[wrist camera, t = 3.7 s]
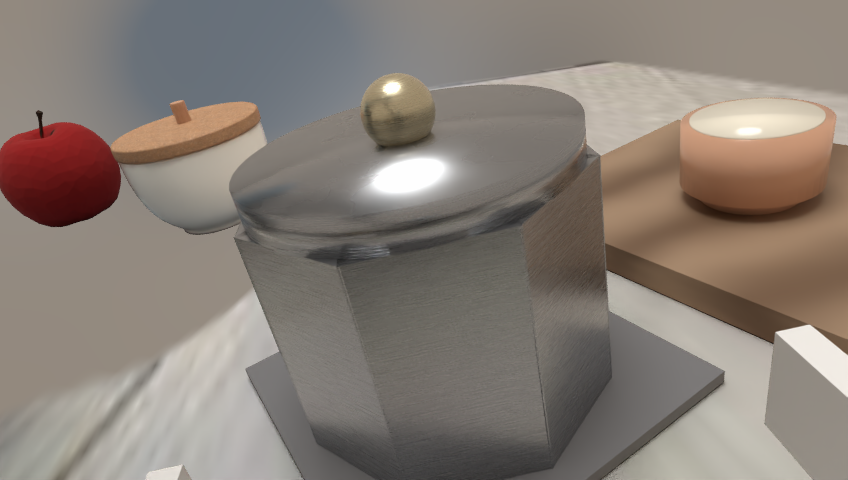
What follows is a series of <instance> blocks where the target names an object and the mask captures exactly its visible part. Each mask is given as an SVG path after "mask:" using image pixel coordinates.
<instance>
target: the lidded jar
mask: <svg viewBox="0 0 848 480" xmlns="http://www.w3.org/2000/svg"><path fill="white" fill-rule="evenodd" d="M170 107H171V109H172V112H173V114H174V115H172V116H169V117H166V118H163V119H160V120H157V121H154V122H151V123H149V124H146V125H144V126H141V127H139V128H136V129H134V130H132V131H130V132H128V133H126V134H125V135H123V136H121V137H120V138H118V139H117V140H116V141H114V142H113V143H112V145H111V152H112V154H113V156H114V158H115V160H116V161H117V162H118V163H119V165H120V167H121V169H122V171H123V173H124V175H125V177H126V179H127V181H128V183H129V184H130V186H131V187H132V189H133V191H134V192H135V194H136V195H137V197H138V198H139V199H140V200H141V202H142V203H143V204H144V205H145V206H146V207H147V208H148V209H149V210H150V211H151V212H152V213H153V214H154V215H155V216H157V217H158V218H160V219H161V220H163V221H165V222H167V223H169V224H172V225H174V226H177V227H180V228H183V229H184V230H185V232H187V233H189V234H195V235H200V234H209V233H214V232H218V231H221V230H225V229H228V228H230V227H233V226H235V225H237V224H239V223H241V220H240V217H239V214H238V212H237V209H236V207H235V204H234V202H233V199H232V196H231V194H230V191H229V182H230V179H231V177H232V175H233V173H234V172H235V171H236V169H237V168H238V167H239V166H240V165H241V164H242V163H243V162H244V161H245V160H246V159H247V158H248V157H250V156H251V155H252V154H254V153H255V152H256V151H258V150H259V149H261V148H262V147H264V146H265V145H267V140H266V137H265V134H264V131H263V128H262V125H261V122H260V119H261V117H260V114H259V111H258V108H257V106H256V105H255V104H253V103H249V102H231V103H223V104H217V105H211V106H207V107H202V108H198V109H193V110H190V111H188V110H187V107H186V105H185V102H184V100H181V101H176V102H173V103H171V104H170Z"/></svg>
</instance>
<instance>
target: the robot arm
mask: <svg viewBox="0 0 848 480" xmlns="http://www.w3.org/2000/svg"><path fill="white" fill-rule="evenodd" d="M764 424H765V425H766V426H767V427H768V428H769V429H770V431H771V432H772V433H773V434H774V435H775V436H776V438H777V439H778V440H779V441H780V442H781V443H782V444H783V446H784V447H785V448H786V449H787V450H788V451H789V453H790V454H791V455H792V456H793V457H794V458H795V459H796V461H797V462H798V463H799V464H800V465H801V466H802V468H803V469H804V470H805V471H806V472H807V473H808V474H809V476H810V477H811V478H812V479H813V480H848V355H847V354H845V353H844V352H843V351H842V350H841V349H839V348H838V347H837V346H836V345H834V344H833V343H832V342H831V341H829V340H828V339H827V338H826V337H825V336H823V335H822V334H821V333H820V332H818V331H817V330H816V329H815V328H814V327H812V326H811V325H805V326H801V327H796V328H792V329H787V330H783V331H778V332H775V338H774V347H773V355H772V364H771V372H770V381H769V389H768V397H767V406H766V414H765V423H764ZM145 480H192V479H191V478H190V476H189V474H188V472H187V471H186V469H185V467H184V465H183V464H182V465H178V466H173V467H169V468H164V469H160V470H155V471H151V472H148V474H147V476H146V479H145Z"/></svg>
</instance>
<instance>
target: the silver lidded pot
mask: <svg viewBox="0 0 848 480" xmlns="http://www.w3.org/2000/svg"><path fill="white" fill-rule="evenodd" d="M229 191H230V194H231V196H232V199H233V202H234V204H235V207H236V209H237V212H238V214H239V217H240V220H241V224H240V226H239V228H238V231H237V232H236V235H235V237H234V239H235V242H236V244H237V247H238V249H239V252H240V254H241V257H242V259H243V262H244V264H245V267H246V269H247V272H248V274H249V276H250V279H251V282H252V284H253V287H254V289H255V292H256V294H257V297H258V299H259V302H260V304H261V307H262V309H263V312H264V314H265V317H266V319H267V321H268V324H269V326H270V329H271V331H272V334H273V336H274V339H275V341H276V344H277V346H278V349H279V351H280V354H281V356H282V359H283V361H284V364H285V366H286V369H287V371H288V374H289V376H290V379H291V381H292V384H293V386H294V389H295V391H296V394H297V396H298V399H299V401H300V404H301V406H302V408H303V411H304V413H305V416H306V418H307V421H308V423H309V426H310V428H311V431H312V433H313V436H314V438H315V441H316V443H317V444H318V445H320V446H321V447H323V448H325V449H326V450H328V451H330V452H331V453H333V454H335V455H336V456H338V457H340V458H341V459H343V460H345V461H346V462H348V463H349V464H351V465H353V466H354V467H356V468H358V469H359V470H361V471H363V472H364V473H366V474H368V475H369V476H371V477H373V478H374V479H376V480H504V479H508V478H513V477H517V476H522V475H526V474H531V473H535V472H539V471H544V470H548V469H553V468H554V466H555V464H556V463H557V461H558V460H559V458H560V456H561V455H562V453H563V452H564V450H565V449H566V447H567V446H568V444H569V443H570V441H571V440H572V438H573V436H574V435H575V433H576V432H577V430H578V429H579V427H580V426H581V424H582V423H583V421H584V419H585V418H586V416H587V415H588V413H589V412H590V410H591V409H592V407H593V406H594V404H595V403H596V401H597V399H598V398H599V396H600V395H601V393H602V392H603V390H604V389H605V387H606V386H607V384H608V382H609V381H610V379H611V378H612V366H611V347H610V328H609V310H608V291H607V272H606V253H605V234H604V215H603V196H602V178H601V159H600V155H599V154H598V153H596V152H595V151H594V150H593V149H591V148H590V147H589V146H588V145H587V144H586V128H585V114H584V109H583V107H582V106H581V104H580V103H579V102H578V101H577V100H576V99H574V98H573V97H571V96H569V95H567V94H565V93H562V92H559V91H556V90H552V89H547V88H542V87H535V86H526V85H476V86H464V87H455V88H446V89H439V90H432V91H429V90H428V88H427V87H426V86H425V85H424V84H423V83H422V82H421V81H419V80H418V79H416V78H415V77H412V76H410V75H407V74H401V73H394V74H389V75H385V76H382V77H380V78H379V79H377V80H376V81H374V82H373V83H372V84H371V85H370V86H369V88H368V89H367V90H366V92H365V94H364V96H363V99H362V102H361V106H360V107H356V108H353V109H350V110H346V111H343V112H340V113H337V114H334V115H331V116H329V117H326V118H323V119H320V120H318V121H315V122H313V123H310V124H308V125H305V126H303V127H301V128H298V129H296V130H294V131H292V132H290V133H288V134H286V135H283V136H281V137H280V138H278V139H276V140H274V141H272V142H270V143H269V144H267V145H265V146H264V147H262V148H261V149H259V150H258V151H256V152H255V153H254V154H252V155H251V156H250V157H248V158H247V159H246V160H245V161H244V162H243V163H242V164H241V165H240V166H239V167H238V168H237V169H236V171H235V172H234V173H233V175H232V177H231V179H230V182H229Z"/></svg>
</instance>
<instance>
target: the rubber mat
mask: <svg viewBox="0 0 848 480" xmlns="http://www.w3.org/2000/svg"><path fill="white" fill-rule="evenodd" d="M609 328H610V347H611V366H612V378H611V379H610V381H609V382H608V384H607V386H606V387H605V389H604V390H603V392H602V393H601V395H600V396H599V398H598V399H597V401H596V403H595V404H594V406H593V407H592V409H591V410H590V412H589V413H588V415H587V416H586V418H585V419H584V421H583V423H582V424H581V426H580V427H579V429H578V430H577V432H576V433H575V435H574V436H573V438H572V440H571V441H570V443H569V444H568V446H567V447H566V449H565V450H564V452H563V453H562V455H561V456H560V458H559V460H558V461H557V463H556V464H555V466H554V468H553V469H548V470H544V471H539V472H535V473H531V474H526V475H522V476H517V477H513V478H508V479H504V480H600V479H601V478H603V477H604V476H605V475H606V474H608V473H609V472H610V471H612V470H613V469H614V468H615V467H617V466H618V465H619V464H620V463H622V462H623V461H624V460H625V459H627V458H628V457H629V456H631V455H632V454H633V453H634V452H636V451H637V450H638V449H639V448H641V447H642V446H643V445H644V444H646V443H647V442H648V441H649V440H651V439H652V438H653V437H655V436H656V435H657V434H658V433H660V432H661V431H662V430H663V429H665V428H666V427H667V426H668V425H670V424H671V423H672V422H673V421H675V420H676V419H677V418H679V417H680V416H681V415H682V414H684V413H685V412H686V411H687V410H689V409H690V408H691V407H692V406H694V405H695V404H696V403H698V402H699V401H700V400H701V399H703V398H704V397H705V396H706V395H708V394H709V393H710V392H711V391H713V390H714V389H715V388H716V387H718V386H719V385H720V384H722V383H723V382H724V372H725V371H723V370H721V369H720V368H718V367H716V366H714V365H712V364H710V363H708V362H706V361H704V360H702V359H700V358H698V357H696V356H694V355H693V354H691V353H689V352H687V351H685V350H683V349H681V348H679V347H677V346H675V345H673V344H671V343H669V342H667V341H666V340H664V339H662V338H660V337H658V336H656V335H654V334H652V333H650V332H648V331H646V330H644V329H642V328H640V327H639V326H637V325H635V324H633V323H631V322H629V321H627V320H625V319H623V318H621V317H619V316H617V315H615V314H613V313H612V312H610V311H609ZM246 372H247V374H248V376H249V378H250V380H251V382H252V384H253V386H254V387H255V389H256V391H257V393H258V395H259V397H260V399H261V400H262V402H263V404H264V406H265V408H266V410H267V411H268V413H269V415H270V417H271V419H272V421H273V423H274V424H275V426H276V428H277V430H278V432H279V434H280V436H281V437H282V439H283V441H284V443H285V445H286V447H287V449H288V450H289V452H290V454H291V456H292V458H293V460H294V462H295V463H296V465H297V467H298V469H299V471H300V473H301V475H302V476H303V478H304V480H376V479H374V478H373V477H371V476H369V475H368V474H366V473H364V472H363V471H361V470H359V469H358V468H356V467H354V466H353V465H351V464H349V463H348V462H346V461H345V460H343V459H341V458H340V457H338V456H336V455H335V454H333V453H331V452H330V451H328V450H326V449H325V448H323V447H321V446H320V445H318V444H317V443H316V441H315V438H314V436H313V433H312V431H311V428H310V426H309V423H308V421H307V418H306V416H305V413H304V411H303V408H302V406H301V404H300V401H299V399H298V396H297V394H296V391H295V389H294V386H293V384H292V381H291V379H290V376H289V374H288V371H287V369H286V366H285V364H284V361H283V359H282V356H281V354H280V352H278V353H276V354H274V355H272V356H270V357H268V358H266V359H264V360H262V361H260V362H258V363H256V364H254V365H252V366H250V367H248V368H246Z"/></svg>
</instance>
